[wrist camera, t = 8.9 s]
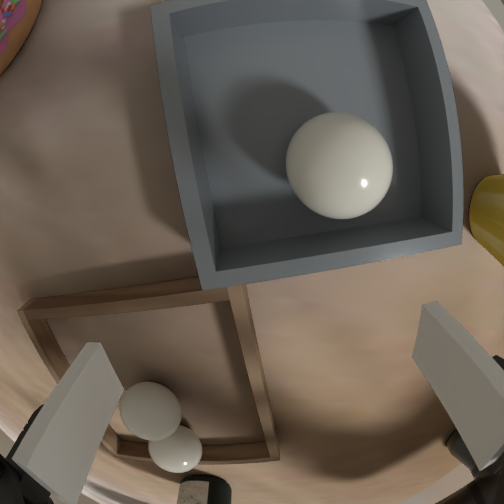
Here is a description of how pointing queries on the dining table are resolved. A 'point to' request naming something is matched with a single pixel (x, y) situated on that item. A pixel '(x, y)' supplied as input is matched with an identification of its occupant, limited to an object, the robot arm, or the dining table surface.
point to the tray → (151, 299)
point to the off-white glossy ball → (339, 165)
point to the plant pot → (489, 215)
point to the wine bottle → (204, 491)
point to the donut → (15, 26)
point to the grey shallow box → (292, 118)
